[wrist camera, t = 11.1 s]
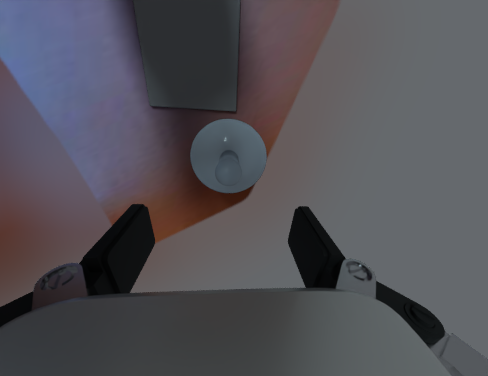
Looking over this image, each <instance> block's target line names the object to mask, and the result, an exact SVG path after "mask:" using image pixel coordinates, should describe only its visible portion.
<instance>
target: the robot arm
mask: <svg viewBox="0 0 488 376" xmlns="http://www.w3.org/2000/svg"><path fill="white" fill-rule="evenodd" d="M154 244H155V238H154V233H153V229H152V224H151V220H150V216H149V211H148V208H147V207H145V206H144V205H143V204H132V205H131V206H130V207H129V208H128V209H127V210H126V212H125V213H124V214H123V215H122V216H121V217H120V218H119V219H118V220H117V221H116V222H115V223H114V224H113V226H112V227H111V228H110V229H109V230H108V231H107V232H106V233H105V234H104V235H103V236H102V238H101V239H100V240H99V241H98V242H97V243H96V244H95V245H94V246H93V247H92V248H91V249H90V250H89V251H88V252H87V254H86V255H85V256H84V257H83V260H82V261H81V262H80V263H79V264H78V263H68V264H64V265H61V266H58V267H56V268H54V269H52V270H50V271H49V272H47V273H46V274H44V275H43V276H42V277H41V278H40V279H39V280H38V281H37V283H36V284H35V286H34V290H33V292H31V293H28V294H26V295H24V296H22V297H20V298H18V299H16V300H14V301H12V302H10V303H8V304H6V305H4V306H2V307H0V376H488V359H487V358H485V357H484V356H483V355H481V354H480V353H479V352H477V351H476V350H475V349H473V348H472V347H470V346H469V345H468V344H466V343H465V342H464V341H462V340H461V339H460V338H458V337H457V336H456V335H454V334H453V333H452V334H450V335H449V334H448V333H446V332H445V330H444V327H443V325H442V324H441V322H440V321H439V320H438V319H437V318H436V317H435V315H433V314H432V313H431V312H430V311H429V310H428V309H426V308H425V307H423V306H421V305H420V304H418V303H416V302H414V301H412V300H410V299H409V298H407V297H405V296H403V295H401V294H399V293H398V292H396V291H394V290H392V289H390V288H388V287H387V286H385V285H383V284H381V283H379V282H377V281H376V276H375V274H374V272H373V271H372V270H371V268H370V267H368V266H367V265H366V264H364V263H363V262H361V261H358V260H356V259H345V257H344V256H343V254H342V253H341V251H340V250H339V249H338V247H337V246H336V245H335V243H334V242H333V240H332V239H331V238H330V236H329V235H328V233H327V232H326V231H325V230H324V228H323V227H322V226H321V224H320V223H319V221H318V220H317V218H316V217H315V215H314V214H313V213H312V211H311V210H310V209H309V207H306V206H304V207H303V206H302V207H301V206H300V207H298V209H295V212H294V216H293V221H292V225H291V229H290V233H289V238H288V244H289V247H290V249H291V252H292V254H293V257H294V259H295V262H296V264H297V267H298V269H299V272H300V274H301V277H302V279H303V282H304V284H305V287H306V288H273V289H234V290H201V291H173V292H146V293H145V292H144V293H130V291H131V289H132V287H133V285H134V283H135V282H136V279H137V278H138V276H139V274H140V272H141V270H142V268H143V266H144V264H145V262H146V260H147V258H148V256H149V255H150V253H151V251H152V249H153V247H154Z"/></svg>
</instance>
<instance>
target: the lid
mask: <svg viewBox="0 0 488 376" xmlns="http://www.w3.org/2000/svg"><path fill="white" fill-rule="evenodd" d="M266 158H267V156H266V148H265V145H264V142H263V140H262V138H261V137H260V135H259V134H258V133H257V132H256V131H255V130H254V129H253V128H252V127H251V126H250V125H248V124H246V123H244V122H242V121H239V120H236V119H220V120H217V121H214V122H212V123H209V124H208V125H206V126H205V127H204V128H203V129H202V130H201V131H200V132H199V133H198V134H197V136H196V137H195V139H194V141H193V143H192V147H191V153H190V159H191V164H192V168H193V170H194V172H195V174H196V176H197V177H198V178H199V180H200V181H201V182H202V183H203V184H205V185H206V186H207V187H209V188H211V189H213V190H215V191H218V192H222V193H236V192H240V191H243V190H246V189H247V188H249V187H251V186H252V185H254V184H255V183H256V182H257V181H258V179H259V178H260V177H261V175H262V173H263V171H264V169H265V165H266Z"/></svg>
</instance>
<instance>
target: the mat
mask: <svg viewBox="0 0 488 376" xmlns="http://www.w3.org/2000/svg"><path fill="white" fill-rule="evenodd" d="M133 3H134V9H135V16H136V22H137V28H138V34H139V41H140V47H141V53H142V59H143V66H144V72H145V78H146V84H147V91H148V97H149V103H150V106H160V107H176V108H191V109H207V110H223V111H236V98H237V72H238V45H239V18H240V0H133Z"/></svg>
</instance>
